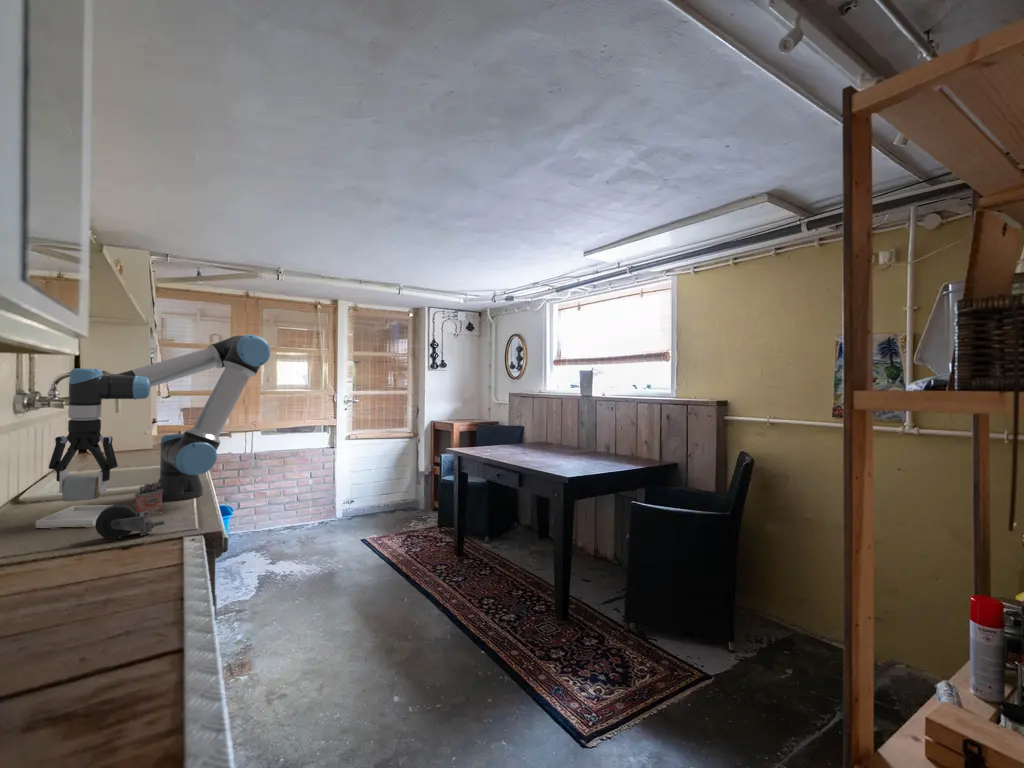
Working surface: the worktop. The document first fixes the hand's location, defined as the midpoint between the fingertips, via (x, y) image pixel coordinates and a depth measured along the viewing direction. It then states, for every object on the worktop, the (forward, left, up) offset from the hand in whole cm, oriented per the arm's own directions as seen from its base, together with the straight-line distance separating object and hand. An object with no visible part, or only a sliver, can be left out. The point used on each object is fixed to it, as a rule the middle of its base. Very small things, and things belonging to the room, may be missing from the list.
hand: (83, 491), depth 147 cm
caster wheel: (-21, +17, -9) cm, 28 cm away
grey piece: (+1, -1, -3) cm, 3 cm away
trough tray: (0, 0, -9) cm, 9 cm away
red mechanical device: (-16, -4, -9) cm, 19 cm away
